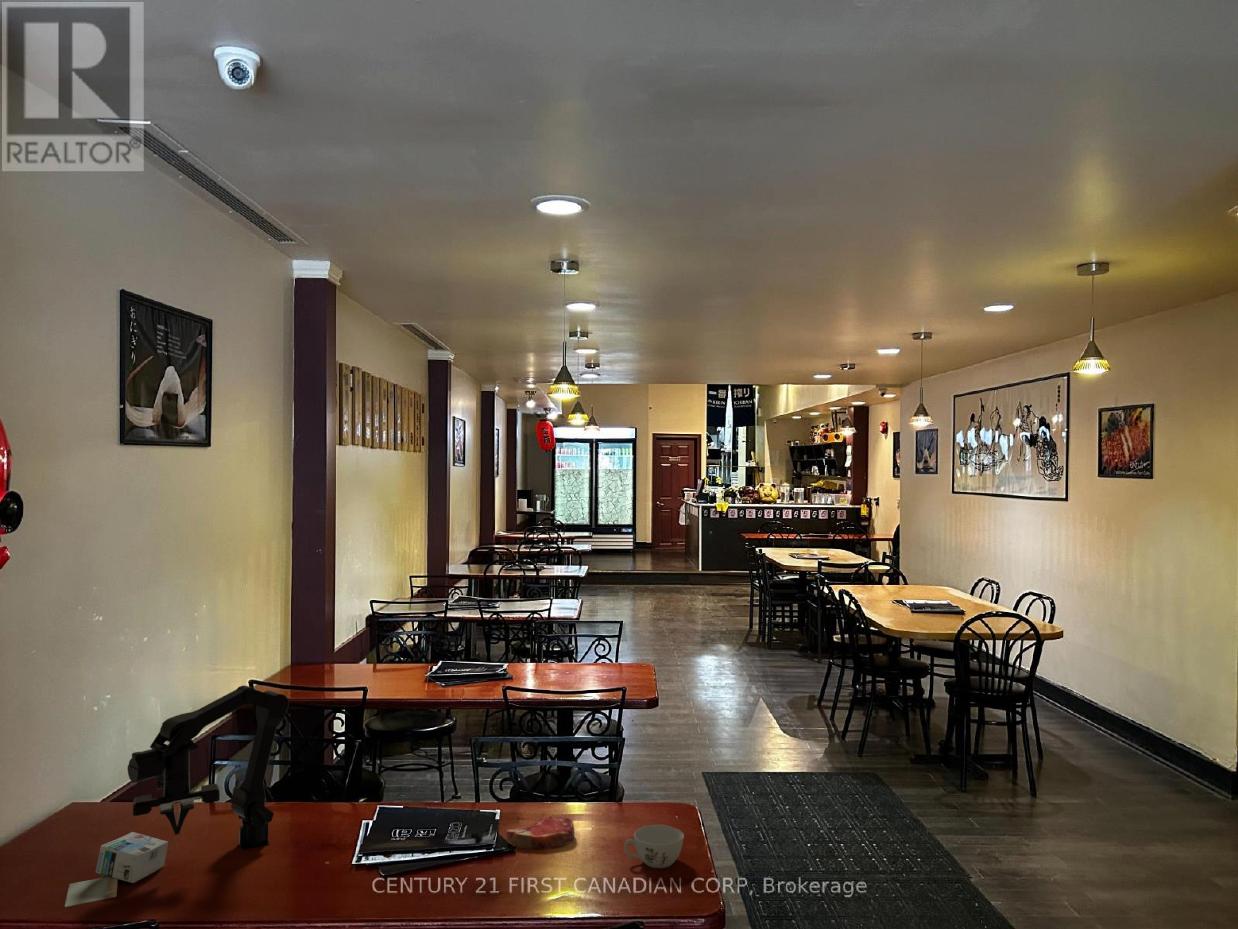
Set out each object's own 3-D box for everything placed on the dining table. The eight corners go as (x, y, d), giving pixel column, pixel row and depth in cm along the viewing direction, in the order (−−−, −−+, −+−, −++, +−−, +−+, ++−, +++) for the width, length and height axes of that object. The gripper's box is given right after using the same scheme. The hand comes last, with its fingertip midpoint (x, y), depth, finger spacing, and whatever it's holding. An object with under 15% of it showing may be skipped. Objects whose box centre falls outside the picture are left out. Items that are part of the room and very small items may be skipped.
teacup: (679, 853, 220) (679, 822, 220) (687, 876, 208) (687, 843, 208) (621, 855, 219) (622, 824, 219) (626, 878, 207) (626, 845, 207)
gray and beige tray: (118, 876, 206) (118, 870, 206) (116, 898, 196) (116, 891, 196) (69, 885, 202) (69, 879, 202) (64, 908, 191) (64, 902, 191)
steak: (581, 826, 239) (581, 806, 239) (598, 859, 219) (598, 837, 219) (492, 834, 233) (492, 814, 233) (500, 869, 212) (500, 847, 213)
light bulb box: (138, 856, 201) (99, 845, 203) (132, 885, 201) (93, 873, 203) (169, 840, 212) (132, 830, 214) (164, 868, 211) (126, 857, 213)
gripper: (216, 754, 221) (216, 814, 221) (133, 767, 211) (133, 829, 211) (219, 767, 211) (219, 830, 211) (132, 781, 202) (133, 847, 202)
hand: (177, 834), depth 209 cm, fingers closed
